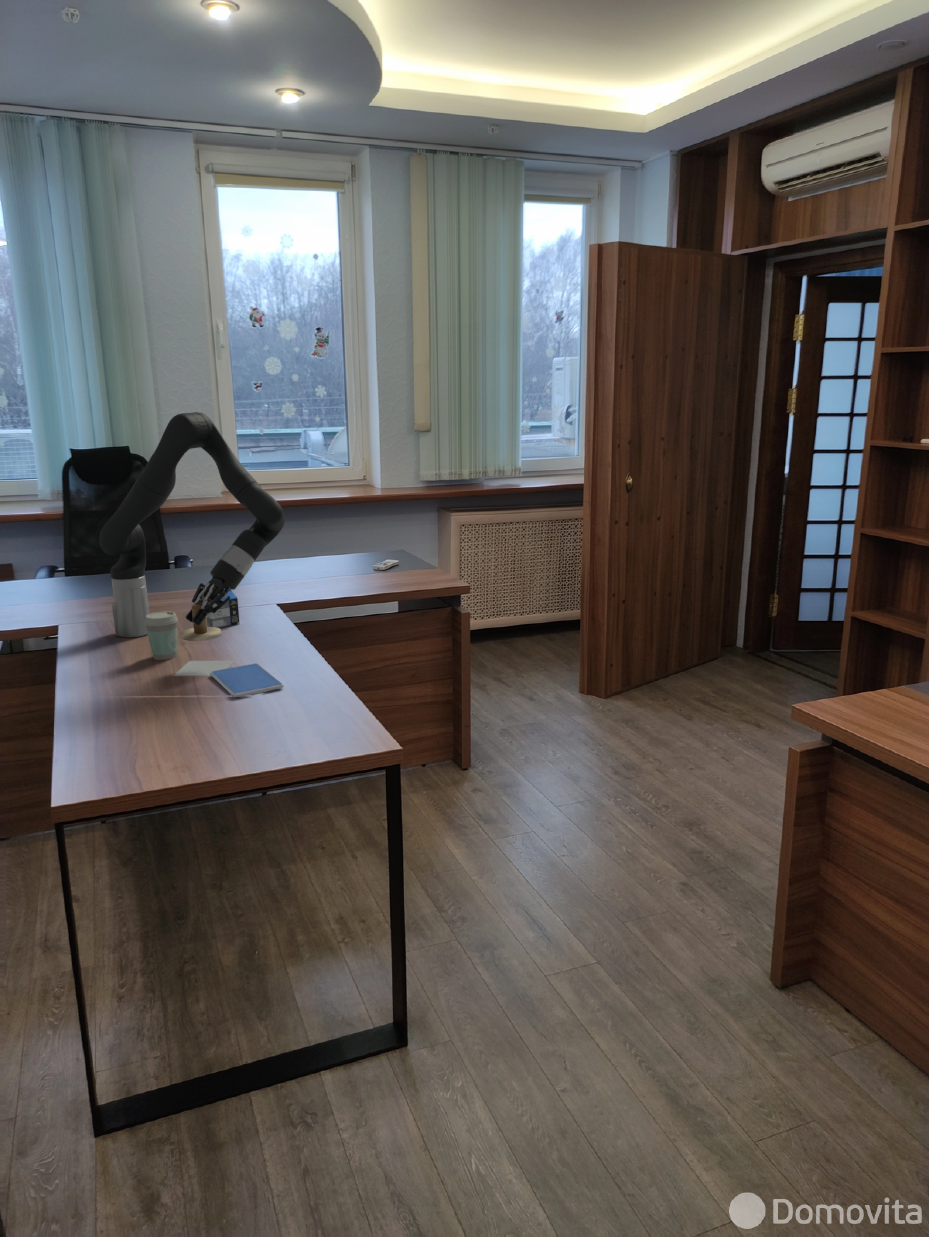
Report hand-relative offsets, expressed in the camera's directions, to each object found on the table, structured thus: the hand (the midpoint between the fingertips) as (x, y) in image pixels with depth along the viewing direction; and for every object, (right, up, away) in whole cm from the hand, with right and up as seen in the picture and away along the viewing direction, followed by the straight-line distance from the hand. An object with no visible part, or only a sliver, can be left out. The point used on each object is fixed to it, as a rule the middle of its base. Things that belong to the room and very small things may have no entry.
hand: (192, 621), depth 221 cm
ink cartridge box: (-4, -2, +45) cm, 46 cm away
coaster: (+2, -12, +5) cm, 13 cm away
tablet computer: (+15, -15, -6) cm, 22 cm away
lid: (+2, -3, +2) cm, 5 cm away
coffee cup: (-12, -10, +15) cm, 21 cm away
